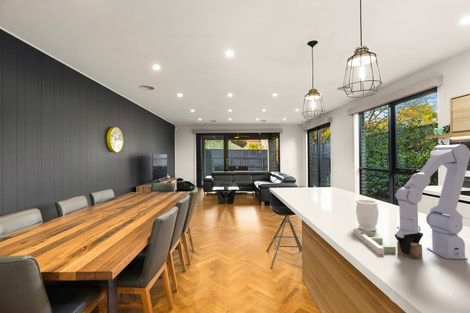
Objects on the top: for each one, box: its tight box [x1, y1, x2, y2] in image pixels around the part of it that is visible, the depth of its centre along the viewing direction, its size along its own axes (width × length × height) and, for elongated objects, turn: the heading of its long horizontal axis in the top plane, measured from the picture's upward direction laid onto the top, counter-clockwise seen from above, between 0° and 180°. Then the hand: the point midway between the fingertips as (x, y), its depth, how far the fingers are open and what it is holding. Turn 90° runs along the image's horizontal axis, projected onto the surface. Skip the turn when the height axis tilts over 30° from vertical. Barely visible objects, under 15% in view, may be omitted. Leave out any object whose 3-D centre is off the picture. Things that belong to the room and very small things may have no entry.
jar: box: [355, 199, 379, 232], centre depth 119 cm, size 11×10×15 cm
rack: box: [352, 228, 397, 256], centre depth 100 cm, size 24×8×3 cm, turn 174°
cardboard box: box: [396, 241, 423, 261], centre depth 87 cm, size 6×4×5 cm
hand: (409, 251), depth 87 cm, fingers open, 6 cm apart
